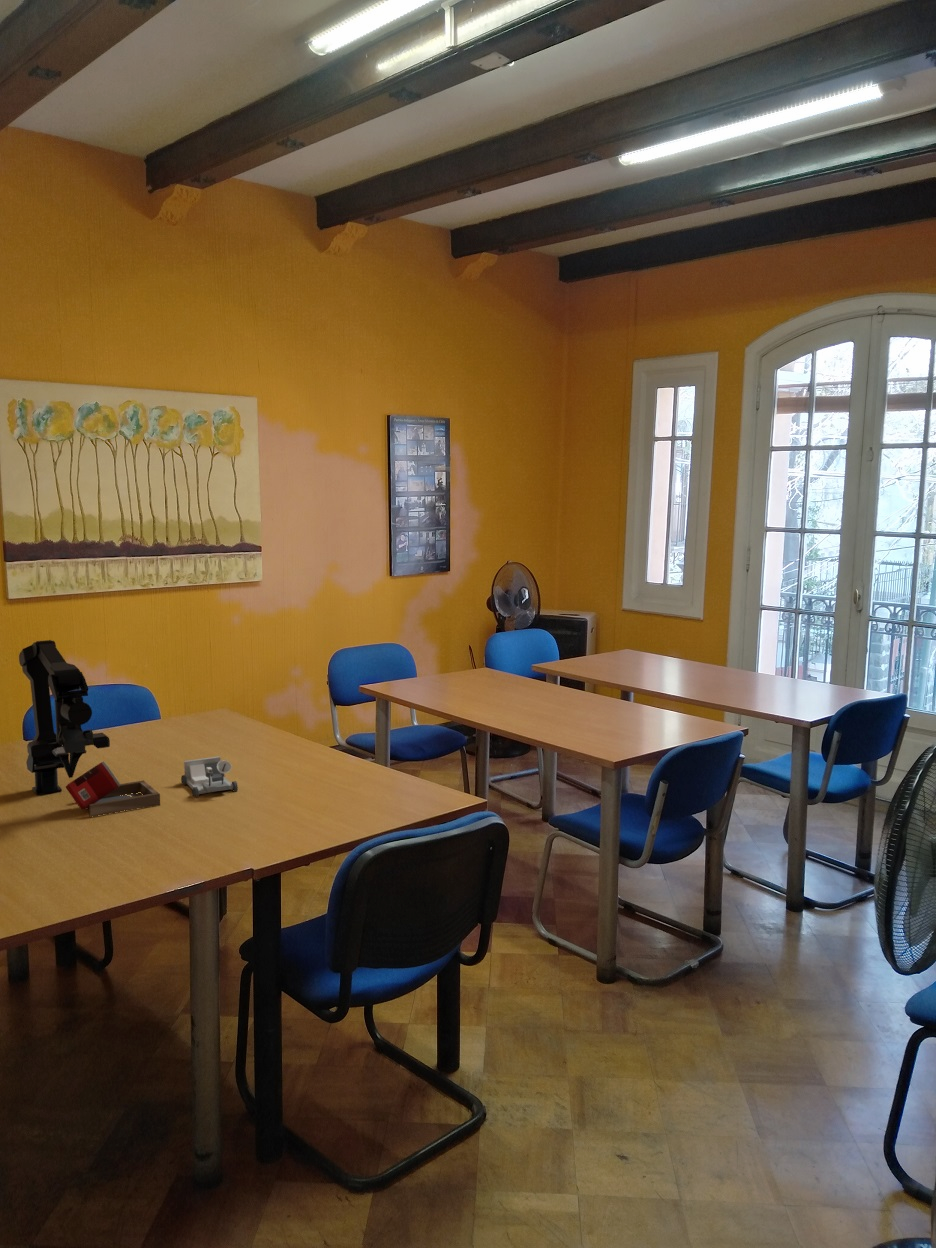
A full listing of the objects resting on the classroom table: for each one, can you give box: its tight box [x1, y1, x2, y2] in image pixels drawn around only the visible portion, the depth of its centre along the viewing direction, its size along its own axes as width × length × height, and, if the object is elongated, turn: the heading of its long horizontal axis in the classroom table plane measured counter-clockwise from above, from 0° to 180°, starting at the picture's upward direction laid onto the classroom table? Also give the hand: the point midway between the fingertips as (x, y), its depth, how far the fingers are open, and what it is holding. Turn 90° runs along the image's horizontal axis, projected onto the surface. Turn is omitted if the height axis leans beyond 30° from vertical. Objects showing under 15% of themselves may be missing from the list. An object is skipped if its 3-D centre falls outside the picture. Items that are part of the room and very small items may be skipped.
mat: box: [87, 793, 141, 811], centre depth 249 cm, size 11×14×1 cm
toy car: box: [180, 755, 239, 798], centre depth 263 cm, size 18×10×12 cm
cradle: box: [88, 779, 161, 818], centre depth 250 cm, size 14×17×3 cm
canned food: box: [65, 760, 121, 811], centre depth 245 cm, size 8×8×11 cm
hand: (70, 777), depth 242 cm, fingers closed
